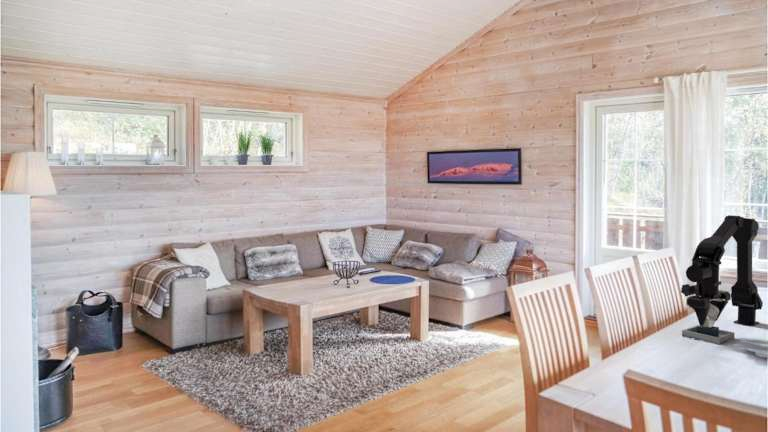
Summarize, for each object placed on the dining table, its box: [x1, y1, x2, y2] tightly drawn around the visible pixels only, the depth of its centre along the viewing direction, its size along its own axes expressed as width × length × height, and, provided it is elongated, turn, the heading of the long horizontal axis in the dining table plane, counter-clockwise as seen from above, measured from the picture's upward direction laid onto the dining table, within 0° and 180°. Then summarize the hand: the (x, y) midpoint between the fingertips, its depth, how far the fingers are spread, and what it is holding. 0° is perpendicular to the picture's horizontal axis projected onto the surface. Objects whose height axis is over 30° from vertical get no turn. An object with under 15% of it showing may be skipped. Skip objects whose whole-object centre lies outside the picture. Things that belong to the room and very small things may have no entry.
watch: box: [697, 304, 720, 337], centre depth 208 cm, size 6×8×11 cm
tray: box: [681, 324, 735, 345], centre depth 208 cm, size 11×13×2 cm
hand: (708, 322), depth 208 cm, fingers open, 9 cm apart
